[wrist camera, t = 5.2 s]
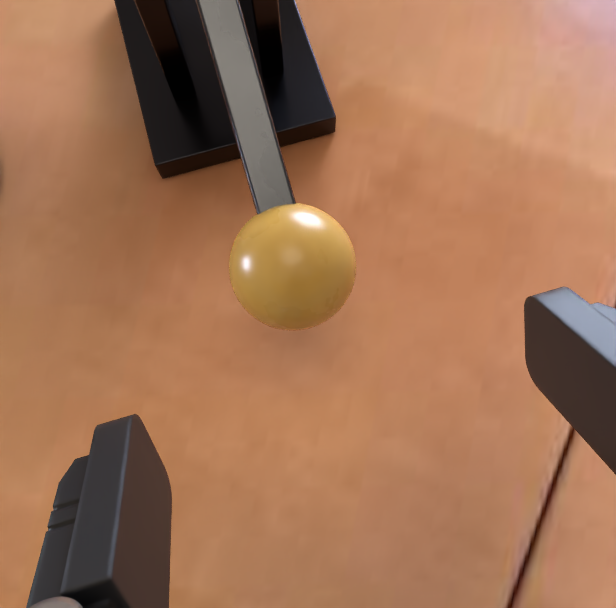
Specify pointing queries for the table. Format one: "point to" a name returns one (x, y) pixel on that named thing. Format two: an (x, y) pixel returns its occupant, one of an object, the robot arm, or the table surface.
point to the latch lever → (273, 199)
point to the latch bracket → (204, 82)
